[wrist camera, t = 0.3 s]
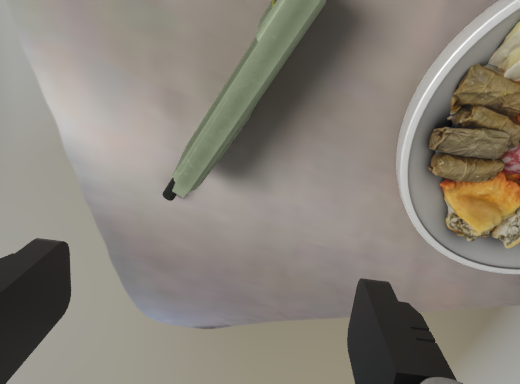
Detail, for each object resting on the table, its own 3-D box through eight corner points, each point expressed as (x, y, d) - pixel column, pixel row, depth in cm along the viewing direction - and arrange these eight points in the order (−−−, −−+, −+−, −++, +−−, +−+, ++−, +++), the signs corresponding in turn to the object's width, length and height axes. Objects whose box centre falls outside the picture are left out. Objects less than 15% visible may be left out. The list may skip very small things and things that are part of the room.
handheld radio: (327, -11, 34) (184, 198, 46) (294, -37, 33) (157, 183, 45) (335, 1, 28) (170, 236, 40) (296, -29, 27) (139, 219, 39)
